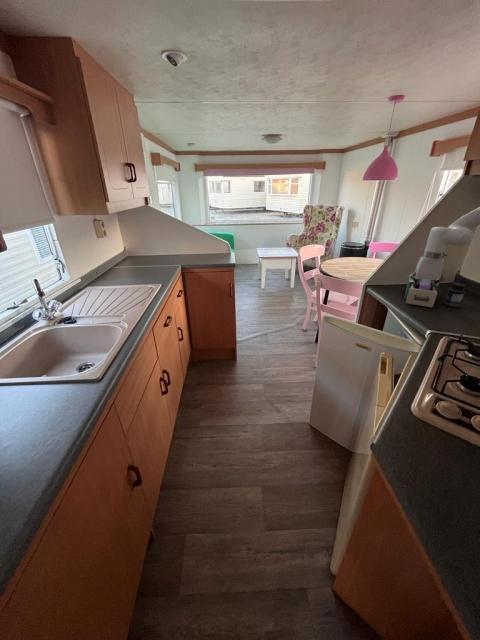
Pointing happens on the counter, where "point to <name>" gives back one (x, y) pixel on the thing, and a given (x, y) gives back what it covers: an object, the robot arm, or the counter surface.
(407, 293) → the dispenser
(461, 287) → the pill bottle
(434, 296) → the drawer
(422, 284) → the purple cube
